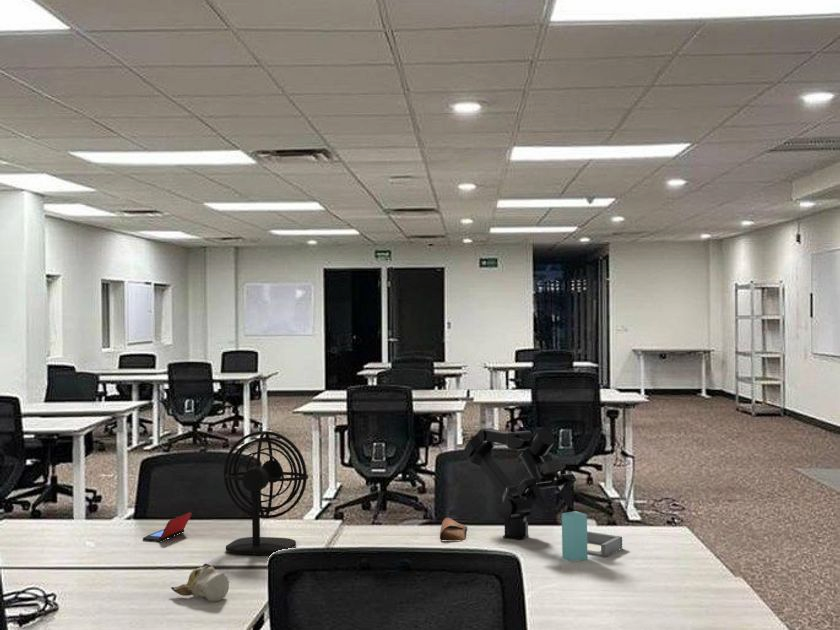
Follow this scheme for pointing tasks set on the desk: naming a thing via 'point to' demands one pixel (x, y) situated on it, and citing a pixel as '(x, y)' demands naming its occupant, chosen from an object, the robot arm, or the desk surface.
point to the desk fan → (257, 481)
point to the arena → (602, 544)
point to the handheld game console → (170, 528)
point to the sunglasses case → (452, 530)
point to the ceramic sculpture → (205, 584)
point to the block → (574, 536)
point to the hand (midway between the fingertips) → (559, 508)
